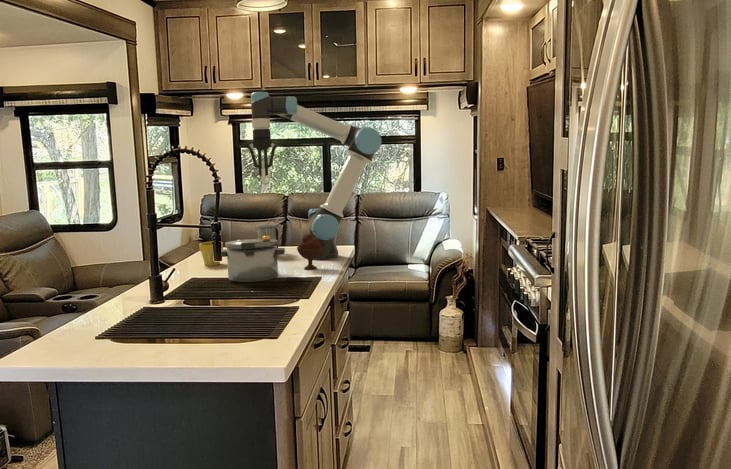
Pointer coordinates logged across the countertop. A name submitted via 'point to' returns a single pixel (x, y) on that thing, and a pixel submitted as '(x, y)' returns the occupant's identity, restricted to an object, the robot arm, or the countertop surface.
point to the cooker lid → (252, 243)
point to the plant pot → (208, 253)
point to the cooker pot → (252, 263)
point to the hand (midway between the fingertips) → (264, 183)
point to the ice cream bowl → (309, 249)
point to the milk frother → (268, 232)
